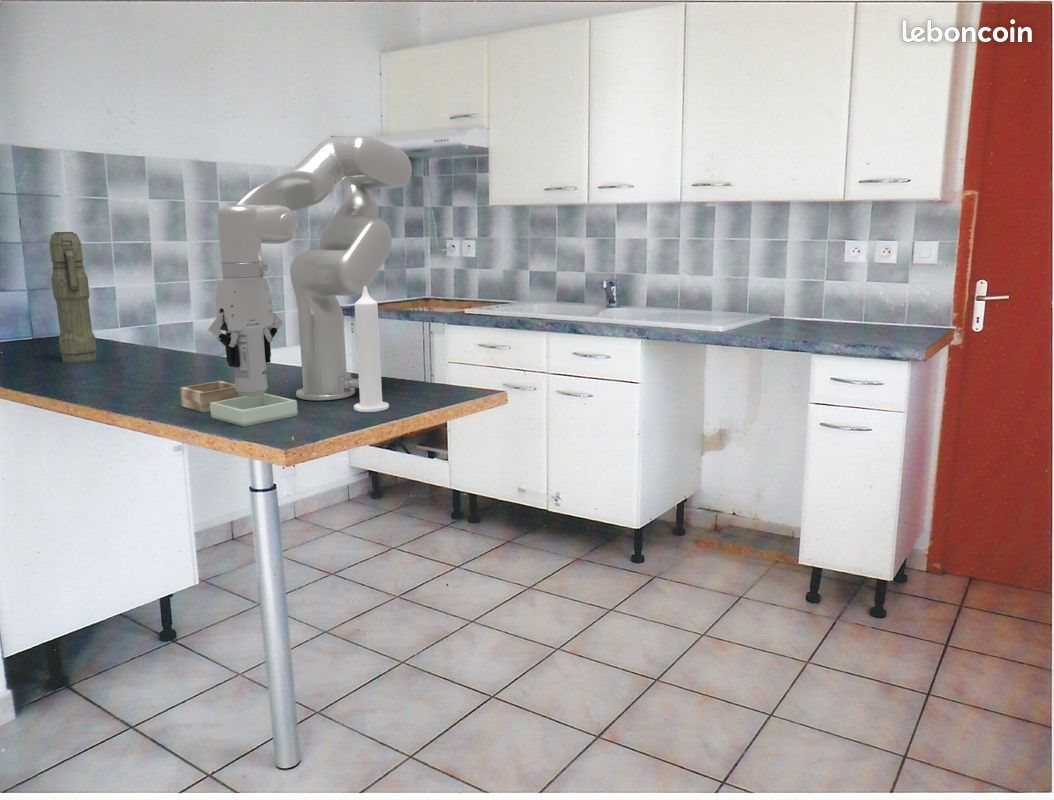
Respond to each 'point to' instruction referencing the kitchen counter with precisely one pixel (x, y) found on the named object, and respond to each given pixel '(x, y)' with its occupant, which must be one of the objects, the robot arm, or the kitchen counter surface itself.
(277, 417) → the tray
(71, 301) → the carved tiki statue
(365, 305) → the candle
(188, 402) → the wooden square frame
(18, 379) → the kitchen counter surface
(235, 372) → the energy drink can
